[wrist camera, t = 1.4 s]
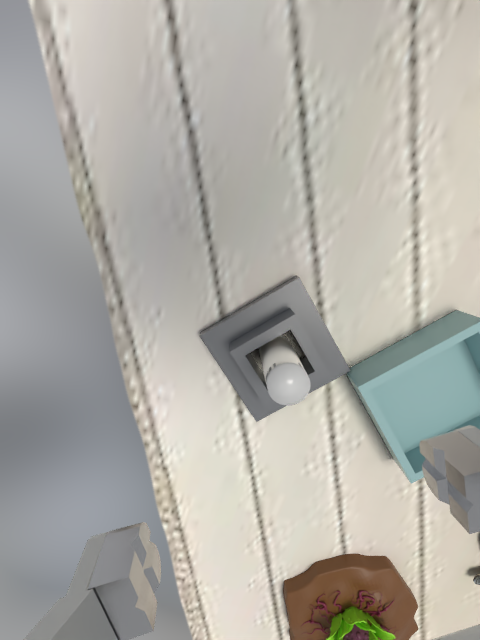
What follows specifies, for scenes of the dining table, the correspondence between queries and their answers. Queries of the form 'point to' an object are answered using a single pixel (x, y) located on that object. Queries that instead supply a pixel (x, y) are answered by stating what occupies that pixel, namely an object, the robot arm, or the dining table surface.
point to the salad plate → (477, 579)
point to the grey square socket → (265, 325)
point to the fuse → (283, 372)
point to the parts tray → (423, 387)
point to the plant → (350, 601)
